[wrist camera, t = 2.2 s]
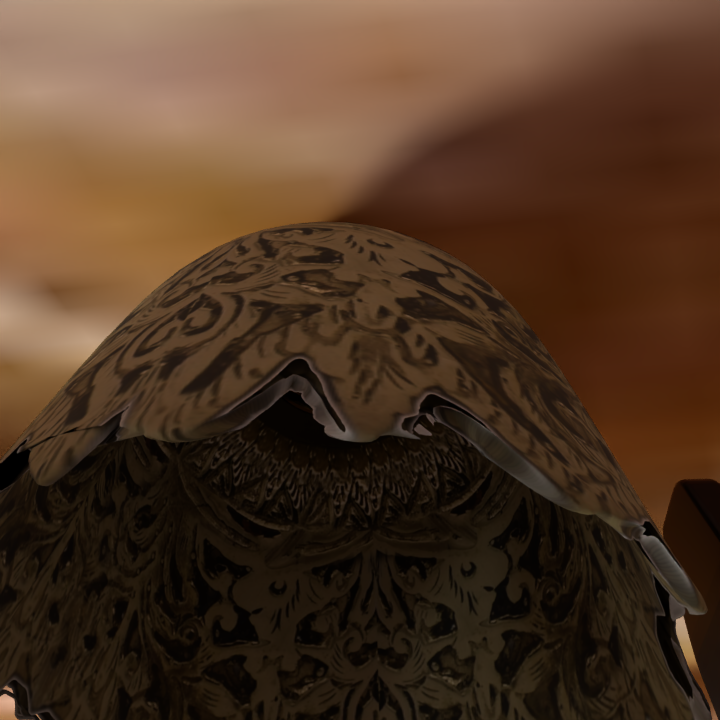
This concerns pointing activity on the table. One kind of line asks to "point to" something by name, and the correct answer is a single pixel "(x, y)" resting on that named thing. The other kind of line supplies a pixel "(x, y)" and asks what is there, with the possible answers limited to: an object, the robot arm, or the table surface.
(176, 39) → the table surface
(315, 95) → the table surface
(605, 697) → the ornate bronze lamp shade
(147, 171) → the table surface
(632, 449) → the table surface
